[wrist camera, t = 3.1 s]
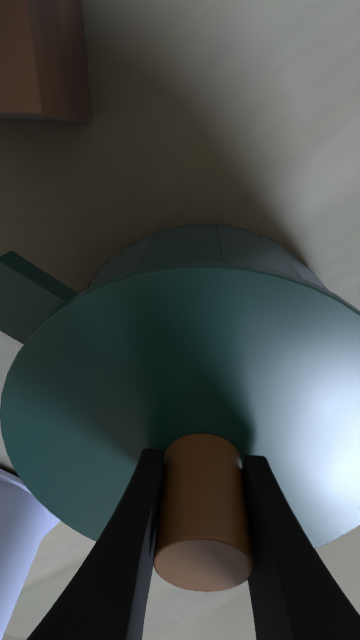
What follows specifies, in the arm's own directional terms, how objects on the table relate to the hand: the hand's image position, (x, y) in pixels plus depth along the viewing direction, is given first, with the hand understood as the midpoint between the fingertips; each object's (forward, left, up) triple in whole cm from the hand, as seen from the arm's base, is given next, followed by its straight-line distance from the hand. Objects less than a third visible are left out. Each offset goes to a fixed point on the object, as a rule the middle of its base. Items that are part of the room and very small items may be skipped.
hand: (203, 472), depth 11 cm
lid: (0, 0, -1) cm, 1 cm away
